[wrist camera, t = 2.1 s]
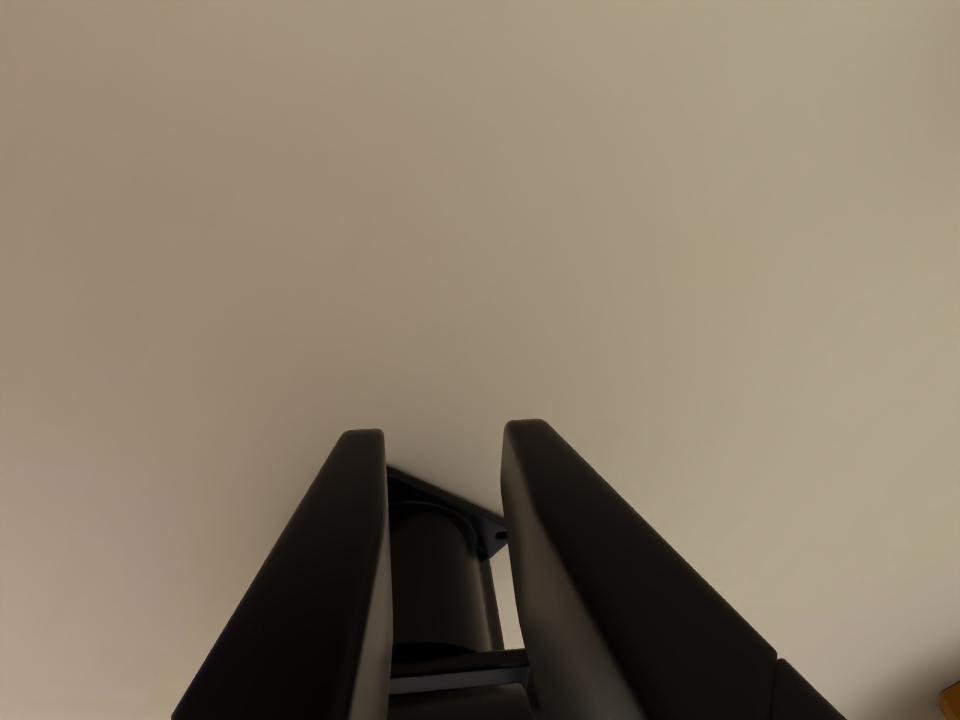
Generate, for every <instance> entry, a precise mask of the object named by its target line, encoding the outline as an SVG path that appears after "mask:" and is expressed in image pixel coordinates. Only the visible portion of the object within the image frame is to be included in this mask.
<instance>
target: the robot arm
mask: <svg viewBox="0 0 960 720" xmlns="http://www.w3.org/2000/svg"><path fill="white" fill-rule="evenodd" d="M500 483H501V496H502V503H503V511H504V518H505V519H504V518H502V517H500V516H498V515H495V514H493V513H491V512H489V511H487V510H484V509H482V508H480V507H478V506H476V505H473V504H471V503H469V502H467V501H465V500H462V499H460V498H458V497H456V496H454V495H451V494H449V493H447V492H445V491H442V490H440V489H438V488H436V487H434V486H431V485H429V484H427V483H425V482H423V481H420V480H418V479H416V478H414V477H412V476H409V475H407V474H405V473H403V472H400V471H398V470H396V469H394V468H391V467H388V466H386V456H385V440H384V433H383V431H382V430H380V429H361V430H348V431H346V432H344V433H343V434H342V435H341V437H340V438H339V440H338V442H337V443H336V445H335V447H334V448H333V450H332V451H331V453H330V455H329V456H328V458H327V460H326V461H325V463H324V465H323V466H322V468H321V470H320V471H319V473H318V475H317V476H316V478H315V480H314V481H313V483H312V484H311V486H310V488H309V489H308V491H307V493H306V494H305V496H304V498H303V499H302V501H301V503H300V504H299V506H298V508H297V509H296V511H295V512H294V514H293V516H292V517H291V519H290V521H289V522H288V524H287V526H286V527H285V529H284V531H283V532H282V534H281V536H280V537H279V539H278V540H277V542H276V544H275V545H274V547H273V549H272V550H271V552H270V554H269V555H268V557H267V559H266V560H265V562H264V564H263V565H262V567H261V569H260V570H259V572H258V573H257V575H256V577H255V578H254V580H253V582H252V583H251V585H250V587H249V588H248V590H247V592H246V593H245V595H244V597H243V598H242V600H241V601H240V603H239V605H238V606H237V608H236V610H235V611H234V613H233V615H232V616H231V618H230V620H229V621H228V623H227V625H226V626H225V628H224V629H223V631H222V633H221V634H220V636H219V638H218V639H217V641H216V643H215V644H214V646H213V648H212V649H211V651H210V653H209V654H208V656H207V658H206V659H205V661H204V662H203V664H202V666H201V667H200V669H199V671H198V672H197V674H196V676H195V677H194V679H193V681H192V682H191V684H190V686H189V687H188V689H187V690H186V692H185V694H184V695H183V697H182V699H181V700H180V702H179V704H178V705H177V707H176V709H175V710H174V712H173V714H172V716H171V720H847V719H846V718H845V717H844V716H843V715H842V714H841V713H839V712H838V711H837V710H836V709H835V708H834V707H833V706H832V705H831V704H830V703H829V702H828V701H827V700H826V699H825V698H824V697H823V696H822V695H821V694H820V693H818V692H817V691H816V690H815V689H814V688H813V687H812V686H811V685H810V684H809V683H808V682H807V681H806V680H805V679H804V678H803V677H802V676H801V675H800V674H799V673H798V672H797V671H796V670H795V669H794V668H793V667H792V666H791V665H790V664H789V663H788V662H787V661H786V660H785V659H783V658H780V659H778V660H777V652H776V650H775V649H774V648H773V647H772V646H771V645H770V644H769V643H768V642H767V641H766V640H765V639H764V638H763V637H762V636H761V635H760V634H759V633H758V632H757V631H756V630H755V629H754V628H753V627H752V626H751V625H750V624H749V623H748V622H747V621H746V620H745V619H744V618H743V617H742V616H741V615H740V614H739V613H738V612H737V611H736V610H735V609H734V608H733V607H732V606H731V605H730V604H729V603H728V602H727V601H726V600H725V599H724V598H723V597H722V596H721V595H720V594H719V593H718V592H717V591H716V590H715V589H714V588H713V587H712V586H711V585H710V584H709V583H707V582H706V581H705V580H704V579H703V578H702V577H701V576H700V575H699V574H698V573H697V572H696V571H695V570H694V569H693V568H692V567H691V566H690V565H689V564H688V563H687V562H686V561H685V560H684V559H683V558H682V557H681V556H680V555H679V554H678V553H677V552H676V551H675V550H674V549H673V548H672V547H671V546H670V545H669V544H668V543H667V542H666V541H665V540H664V539H663V538H662V537H661V536H660V535H659V534H658V533H657V532H656V531H655V530H654V529H653V528H652V527H651V526H650V525H649V524H648V523H647V522H646V521H645V520H644V519H643V518H642V517H641V516H640V515H639V514H638V513H637V512H636V511H635V510H634V509H633V508H632V507H631V506H630V505H629V504H628V503H627V502H626V501H625V500H624V499H623V498H622V497H621V496H620V495H619V494H618V493H617V492H616V491H615V490H614V489H613V488H612V487H611V486H610V485H609V484H608V483H607V482H606V481H605V480H604V479H603V478H602V477H601V476H600V475H599V474H598V473H597V472H596V471H595V470H594V469H593V468H592V467H591V466H590V465H589V464H588V463H587V462H586V461H585V460H584V459H583V458H582V457H581V456H580V455H579V454H578V453H577V452H576V451H575V450H574V449H573V448H572V447H571V446H570V445H569V444H568V443H567V442H566V441H565V440H564V439H563V438H562V437H561V436H560V435H559V434H558V433H557V432H556V431H555V430H554V429H553V428H552V427H551V426H550V425H549V424H548V423H547V422H545V421H544V420H542V419H526V420H511V421H509V422H508V423H507V424H506V425H505V427H504V434H503V448H502V461H501V476H500ZM500 531H501V532H500ZM507 543H508V548H509V555H510V563H511V570H512V578H513V585H514V593H515V600H516V606H517V612H518V618H519V624H520V628H521V633H522V637H523V641H524V646H525V648H522V649H510V650H505V648H504V642H503V636H502V631H501V625H500V619H499V613H498V607H497V601H496V595H495V590H494V584H493V578H492V572H491V566H490V560H489V559H490V558H491V557H492V556H493V555H494V554H496V553H497V552H498V551H499V550H500V549H501V548H502V547H503V546H505V545H506V544H507Z"/></svg>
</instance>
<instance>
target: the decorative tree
mask: <svg viewBox="0 0 960 720" xmlns="http://www.w3.org/2000/svg"><path fill="white" fill-rule="evenodd" d="M940 695H941V711H942V713H943V714H944V716H945V717H946V719H947V720H960V682H959V683H957V684H955V685H953V686H952V687H950V688H948V689H946V690H945V691H943V692H941V693H940Z"/></svg>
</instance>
